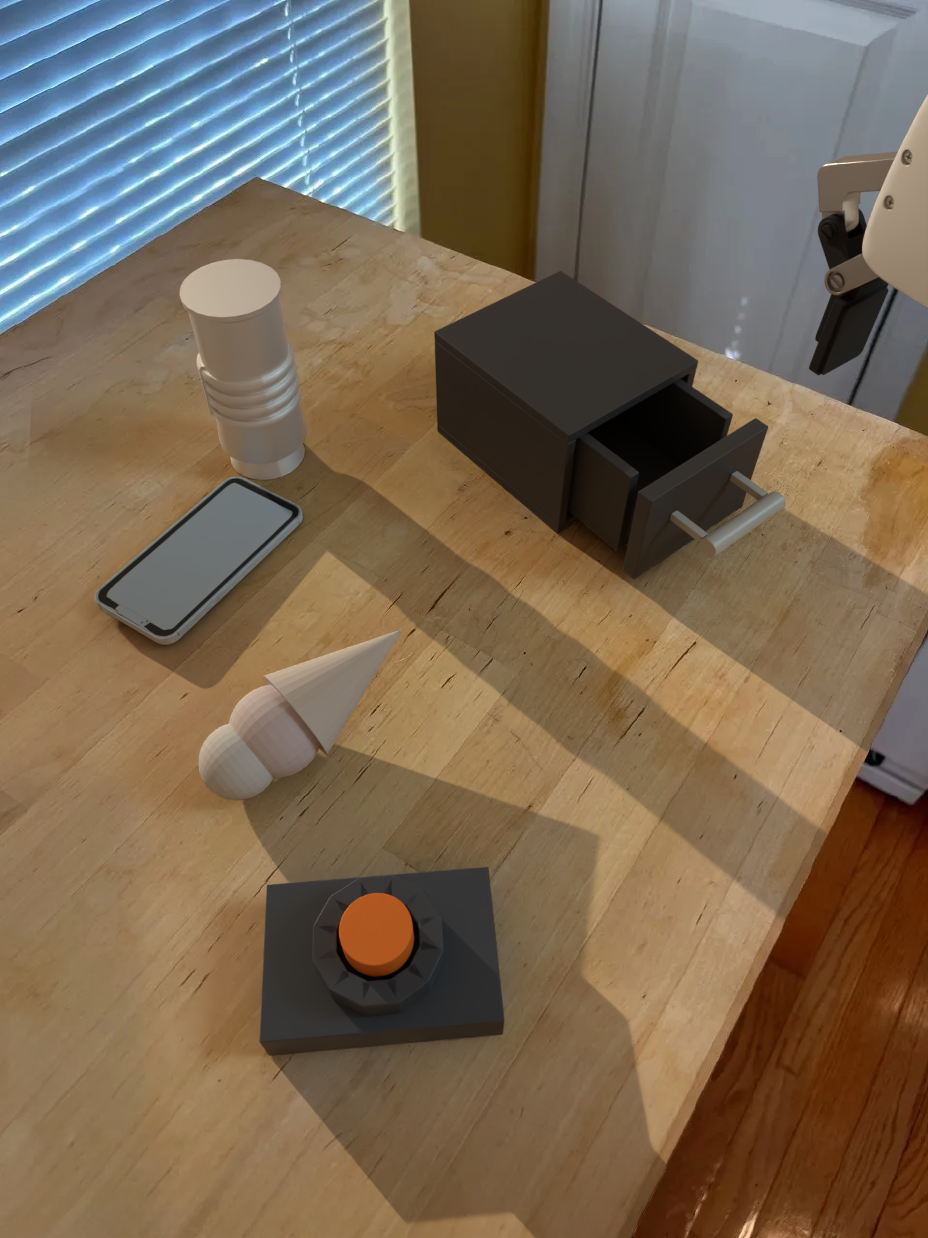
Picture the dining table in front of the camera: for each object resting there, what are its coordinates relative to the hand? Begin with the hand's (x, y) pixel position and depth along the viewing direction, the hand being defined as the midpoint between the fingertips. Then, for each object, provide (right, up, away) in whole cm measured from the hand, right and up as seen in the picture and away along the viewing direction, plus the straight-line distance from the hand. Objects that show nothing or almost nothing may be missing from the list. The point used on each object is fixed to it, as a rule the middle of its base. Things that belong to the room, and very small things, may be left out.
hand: (915, 418), depth 43 cm
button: (-25, -25, +4) cm, 36 cm away
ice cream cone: (-30, -16, +16) cm, 38 cm away
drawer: (-7, -1, +27) cm, 28 cm away
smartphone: (-40, -5, +25) cm, 47 cm away
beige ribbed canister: (-37, +4, +32) cm, 49 cm away
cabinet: (-14, +5, +32) cm, 35 cm away
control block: (-25, -28, +7) cm, 38 cm away
